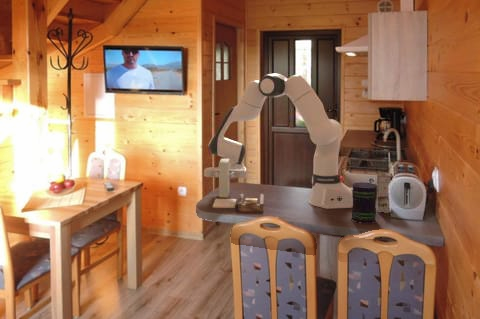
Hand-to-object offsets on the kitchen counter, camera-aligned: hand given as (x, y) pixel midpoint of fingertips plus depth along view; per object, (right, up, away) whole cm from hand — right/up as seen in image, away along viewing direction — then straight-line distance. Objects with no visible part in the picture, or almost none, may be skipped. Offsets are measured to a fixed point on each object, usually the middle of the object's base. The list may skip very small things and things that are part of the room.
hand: (224, 175), depth 227 cm
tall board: (0, -9, +2) cm, 9 cm away
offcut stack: (+12, -15, -6) cm, 20 cm away
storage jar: (+58, -18, -23) cm, 65 cm away
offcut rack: (+13, -14, -1) cm, 19 cm away
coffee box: (+71, -15, -7) cm, 73 cm away
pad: (0, -13, +3) cm, 14 cm away
